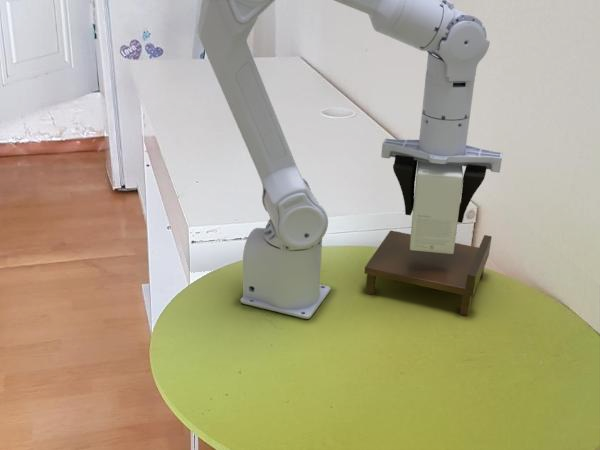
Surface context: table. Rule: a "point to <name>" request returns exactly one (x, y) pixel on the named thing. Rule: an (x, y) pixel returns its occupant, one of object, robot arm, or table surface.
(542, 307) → the table surface
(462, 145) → the robot arm
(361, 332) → the table surface
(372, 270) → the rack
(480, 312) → the table surface
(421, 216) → the small box
